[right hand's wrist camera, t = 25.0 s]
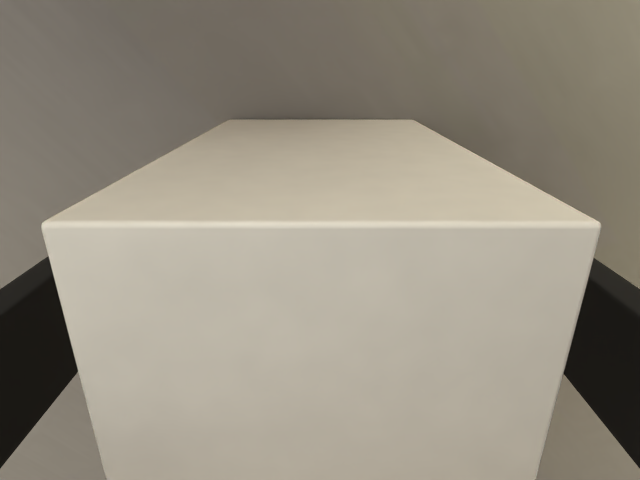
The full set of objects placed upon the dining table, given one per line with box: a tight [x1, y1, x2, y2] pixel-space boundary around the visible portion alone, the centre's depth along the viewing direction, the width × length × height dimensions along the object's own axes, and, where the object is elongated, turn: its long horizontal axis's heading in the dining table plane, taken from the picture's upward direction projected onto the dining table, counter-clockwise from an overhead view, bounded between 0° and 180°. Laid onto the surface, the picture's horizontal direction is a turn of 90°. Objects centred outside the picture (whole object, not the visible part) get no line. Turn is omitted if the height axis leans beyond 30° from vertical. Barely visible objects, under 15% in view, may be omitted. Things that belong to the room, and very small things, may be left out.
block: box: [41, 120, 601, 480], centre depth 12 cm, size 8×7×11 cm
